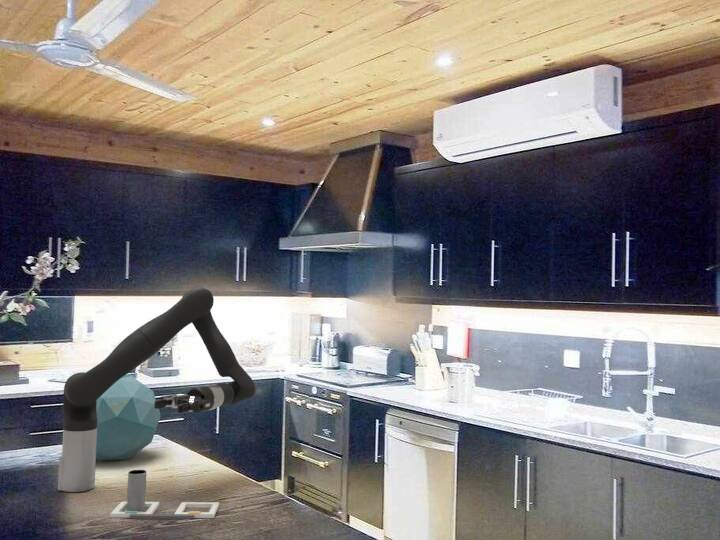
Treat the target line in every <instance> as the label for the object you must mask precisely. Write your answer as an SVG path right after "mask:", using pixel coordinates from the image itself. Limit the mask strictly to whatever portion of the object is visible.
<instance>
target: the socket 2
mask: <svg viewBox="0 0 720 540" xmlns="http://www.w3.org/2000/svg"><path fill="white" fill-rule="evenodd" d="M219 507H220V502H218V501H217V502H214V501H213V502H212V501H211V502H210V501H209V502H205V501H204V502H202V501H201V502H200V501H199V502H198V501H197V502H195V501H194V502H193V501H192V502H191V501H182V502H181V503H180V505H179V506H178V508H177V509H176V510H175V512H174V514H173V515H194V519H214V518H215V516H216V514H217V512H218V509H219ZM189 508H190V509H195V508H196V509H197V508H200V509H204V508H205V509H206V508H207V509H209V511H207V512H206V511H204V512H202V511H198V510H197V511H192V510H189V511H185V510H186V509H189Z"/></svg>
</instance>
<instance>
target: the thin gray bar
mask: <svg viewBox="0 0 720 540" xmlns="http://www.w3.org/2000/svg"><path fill="white" fill-rule="evenodd" d="M128 519H129V520H194V519H195V518H194V515H174V514H153V515H130V516H129V518H128Z"/></svg>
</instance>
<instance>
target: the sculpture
mask: <svg viewBox="0 0 720 540" xmlns="http://www.w3.org/2000/svg"><path fill="white" fill-rule="evenodd" d="M155 401H157V400H156V396H155V393H154V390H152V389H151V388H149V387H148V386H147V385H145V384H144V383H142V382H141V381H140V380H138V379H136V378H135V377H133V376H132V375H129V374H126V375H125V376H123V377H122V378H120V379H119V380H118V381H117V382H115V383H114V384H113V385H112V386H111V387H110V388H109V389H108V390H107V391H106V392H105V393H104V394H103V395H102V396H100V397H99V398H98V399H97V405H96V411H97V420H98V422H97V445H96V461H99V462H104V461H105V462H107V461H106V460H109V461H125V460H126V461H127V460H130V459H131V458H132V457H134V456H135V455H136V454H137V453H139V452H140V451H142V450H143V449H145V448H146V447H147V446H149V445H150V444H151V443H152V442H153V439H154V437H155V434H156V430H157V429H158V428H157V427H158V424H159V422H160V421H161V420H160V419H161V412H160V408H159V409H156V408H155Z"/></svg>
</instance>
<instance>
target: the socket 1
mask: <svg viewBox="0 0 720 540" xmlns="http://www.w3.org/2000/svg"><path fill="white" fill-rule="evenodd" d="M159 507H160V501H145V508H148V509H147V510H145V511H144V512H138V511H127V510H126V511H124V510H125V509H126V508H127V501H121V502H120V503H119V504H118V505H117V506H116V507H115V508H114V509H113V510H112V512H110V514H109V515H110V518H114V519H115V518H126V519H129V516H130V515H154V513H156V511H157V510H158V508H159Z"/></svg>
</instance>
